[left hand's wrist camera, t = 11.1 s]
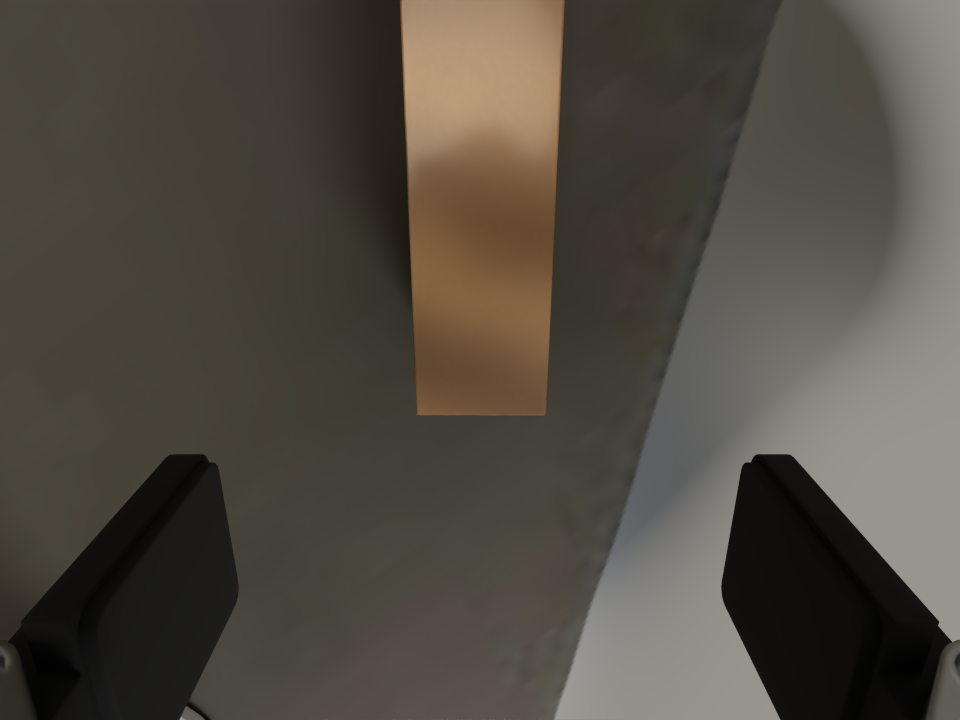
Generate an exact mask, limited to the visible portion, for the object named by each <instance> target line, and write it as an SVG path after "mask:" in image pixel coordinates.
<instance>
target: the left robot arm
mask: <svg viewBox="0 0 960 720" xmlns="http://www.w3.org/2000/svg"><path fill="white" fill-rule="evenodd" d="M238 588H239V586H238V578H237V572H236V567H235V561H234V555H233V549H232V543H231V538H230V532H229V526H228V520H227V515H226V509H225V503H224V497H223V492H222V486H221V480H220V474H219V469H218V466H217V465H216V464H215V463H209V461H208V459H207V457H206V456H205V455H203V454H173V455H169V456H168V457H166V458H165V459H164V461H163V462H162V463H161V464H160V465H159V466H158V467H157V468H156V470H155V471H154V472H153V473H152V474H151V475H150V476H149V477H148V479H147V480H146V481H145V482H144V483H143V484H142V485H141V487H140V488H139V489H138V490H137V491H136V492H135V493H134V494H133V496H132V497H131V498H130V499H129V500H128V501H127V502H126V503H125V505H124V506H123V507H122V508H121V509H120V510H119V511H118V512H117V514H116V515H115V516H114V517H113V518H112V519H111V520H110V522H109V523H108V524H107V525H106V526H105V527H104V528H103V529H102V531H101V532H100V533H99V534H98V535H97V536H96V537H95V538H94V540H93V541H92V542H91V543H90V544H89V545H88V546H87V548H86V549H85V550H84V551H83V552H82V553H81V554H80V555H79V557H78V558H77V559H76V560H75V561H74V562H73V563H72V564H71V566H70V567H69V568H68V569H67V570H66V571H65V572H64V573H63V575H62V576H61V577H60V578H59V579H58V580H57V581H56V583H55V584H54V585H53V586H52V587H51V588H50V589H49V590H48V592H47V593H46V594H45V595H44V596H43V597H42V598H41V599H40V601H39V602H38V603H37V604H36V605H35V606H34V607H33V609H32V610H31V611H30V612H29V613H28V614H27V615H26V616H25V618H24V619H23V620H22V621H21V624H22V626H21V628H20V629H19V630H18V631H17V632H16V633H15V634H14V636H13V637H12V638H11V639H10V640H9V641H8V642H6V641H4V640H0V720H205V719H204V718H203V717H202V716H201V715H199V714H198V713H196V712H195V711H193V710H192V709H190V708H189V707H187V706H186V705H187V703H188V701H189V699H190V697H191V695H192V693H193V691H194V689H195V687H196V685H197V683H198V681H199V679H200V677H201V674H202V672H203V670H204V668H205V666H206V664H207V662H208V660H209V658H210V656H211V654H212V652H213V650H214V648H215V646H216V644H217V642H218V640H219V638H220V636H221V633H222V631H223V629H224V627H225V625H226V623H227V621H228V619H229V617H230V615H231V613H232V611H233V609H234V607H235V604H236V602H237V597H238ZM721 588H722V598H723V601H724V604H725V607H726V609H727V611H728V613H729V615H730V617H731V619H732V621H733V623H734V625H735V627H736V629H737V631H738V633H739V636H740V637H741V640H742V642H743V644H744V646H745V648H746V650H747V652H748V654H749V656H750V658H751V660H752V662H753V664H754V666H755V668H756V670H757V672H758V674H759V676H760V679H761V680H762V683H763V685H764V687H765V689H766V691H767V693H768V695H769V697H770V699H771V701H772V703H773V705H774V707H775V709H776V711H777V713H778V716H779V718H780V720H960V640H956V641H954V642H952V641H951V640H950V639H949V638H948V637H947V636H946V634H945V633H944V632H943V631H942V630H941V629H940V628H939V626H938V624H939V621H938V620H937V619H936V618H935V616H934V615H933V614H932V613H931V612H930V611H929V610H928V609H927V607H926V606H925V605H924V604H923V603H922V602H921V601H920V600H919V598H918V597H917V596H916V595H915V594H914V593H913V592H912V590H911V589H910V588H909V587H908V586H907V585H906V584H905V583H904V581H903V580H902V579H901V578H900V577H899V576H898V575H897V574H896V572H895V571H894V570H893V569H892V568H891V567H890V566H889V564H888V563H887V562H886V561H885V560H884V559H883V558H882V557H881V555H880V554H879V553H878V552H877V551H876V550H875V549H874V548H873V546H872V545H871V544H870V543H869V542H868V541H867V540H866V539H865V537H864V536H863V535H862V534H861V533H860V532H859V531H858V530H857V528H856V527H855V526H854V525H853V524H852V523H851V522H850V520H849V519H848V518H847V517H846V516H845V515H844V514H843V513H842V511H841V510H840V509H839V508H838V507H837V506H836V505H835V504H834V502H833V501H832V500H831V499H830V498H829V497H828V496H827V494H826V493H825V492H824V491H823V490H822V489H821V488H820V487H819V485H818V484H817V483H816V482H815V481H814V480H813V479H812V478H811V476H810V475H809V474H808V473H807V472H806V471H805V470H804V468H803V467H802V466H801V465H800V464H799V463H798V462H797V461H796V459H795V458H794V457H792V456H791V455H787V454H757V455H755V456H754V457H753V459H752V461H751V463H745V464H744V465H743V466H742V469H741V474H740V480H739V486H738V492H737V497H736V503H735V509H734V515H733V520H732V526H731V532H730V538H729V543H728V549H727V555H726V561H725V567H724V572H723V578H722V586H721Z"/></svg>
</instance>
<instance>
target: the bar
mask: <svg viewBox="0 0 960 720" xmlns="http://www.w3.org/2000/svg"><path fill="white" fill-rule="evenodd" d="M564 6H565V0H400V22H401V46H402V70H403V94H404V118H405V142H406V166H407V190H408V214H409V238H410V262H411V287H412V311H413V335H414V359H415V383H416V407H417V415H534V416H545V415H546V406H547V384H548V361H549V339H550V317H551V295H552V272H553V250H554V228H555V206H556V184H557V161H558V139H559V117H560V95H561V72H562V50H563V28H564Z"/></svg>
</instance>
